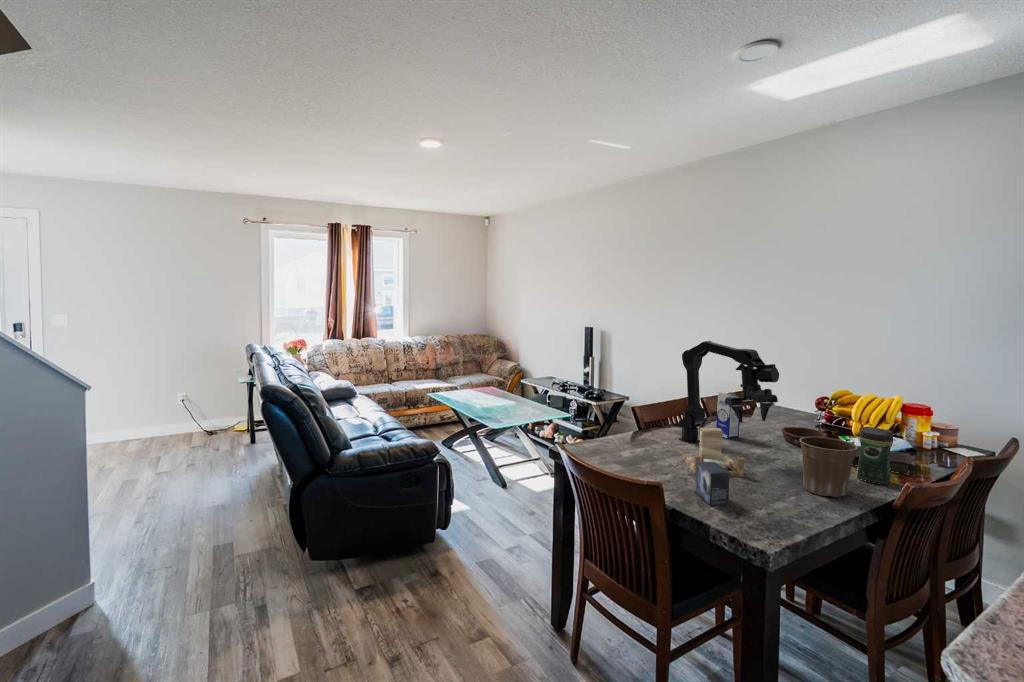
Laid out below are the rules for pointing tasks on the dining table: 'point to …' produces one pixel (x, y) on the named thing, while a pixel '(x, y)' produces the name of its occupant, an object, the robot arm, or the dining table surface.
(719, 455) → the pale wooden block
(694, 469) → the rack
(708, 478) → the small box
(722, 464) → the offcut top
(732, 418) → the milk carton
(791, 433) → the dish
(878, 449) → the coffee jar
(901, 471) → the diary
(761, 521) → the dining table surface
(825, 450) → the plant pot
